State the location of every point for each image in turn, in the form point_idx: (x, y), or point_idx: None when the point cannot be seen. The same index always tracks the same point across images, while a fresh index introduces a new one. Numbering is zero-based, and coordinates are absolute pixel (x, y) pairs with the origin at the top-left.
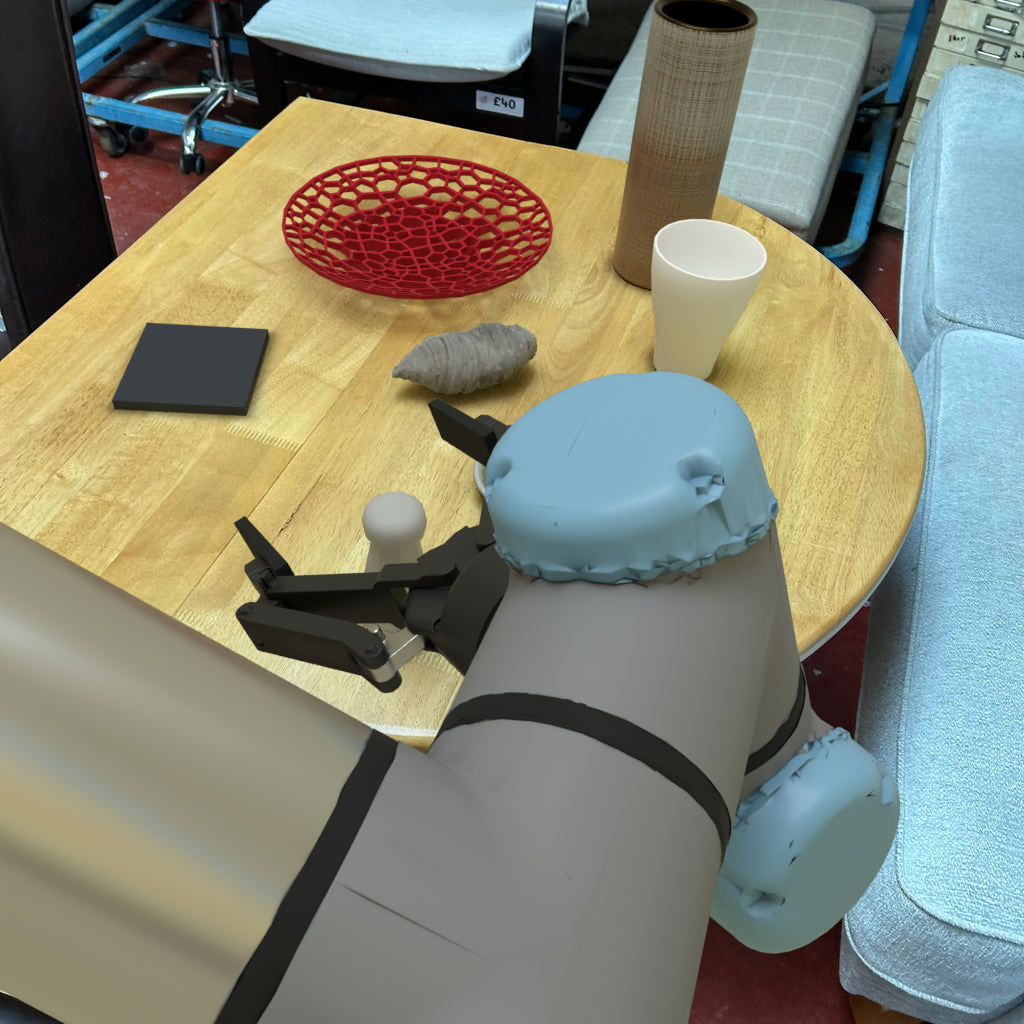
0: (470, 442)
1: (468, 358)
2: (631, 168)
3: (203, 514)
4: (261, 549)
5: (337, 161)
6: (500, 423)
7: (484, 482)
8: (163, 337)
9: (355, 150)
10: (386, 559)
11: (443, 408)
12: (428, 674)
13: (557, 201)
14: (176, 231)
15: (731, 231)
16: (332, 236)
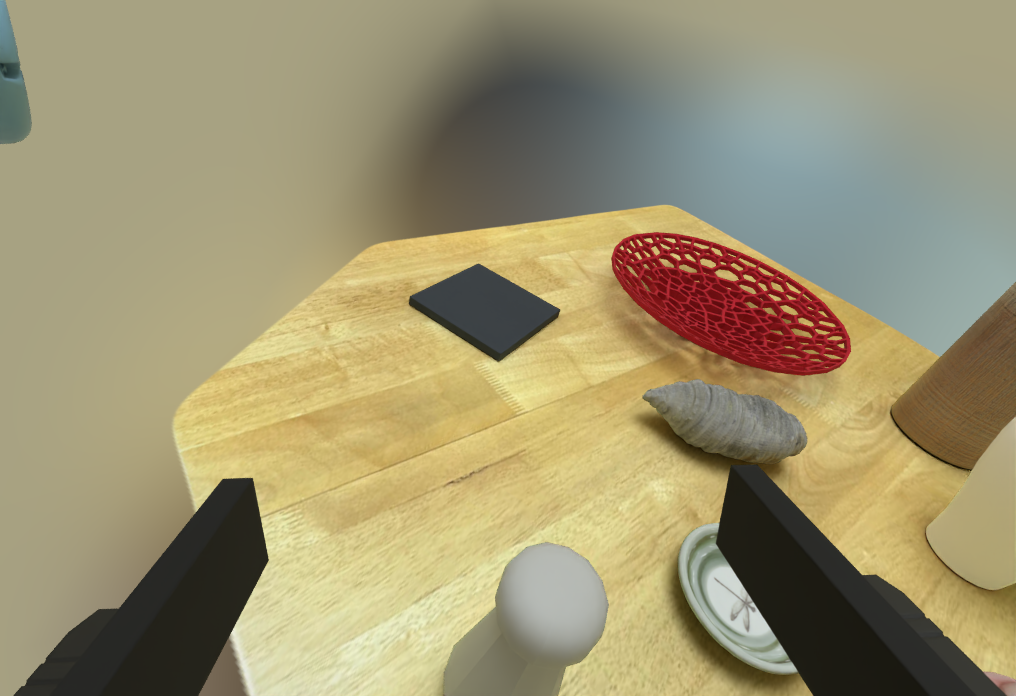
0: (825, 639)
1: (730, 420)
2: (977, 332)
3: (398, 423)
4: (127, 609)
5: None
6: (962, 656)
7: (688, 565)
8: (481, 277)
9: None
10: (506, 650)
11: (771, 499)
12: None
13: None
14: (541, 228)
15: None
16: (648, 274)
